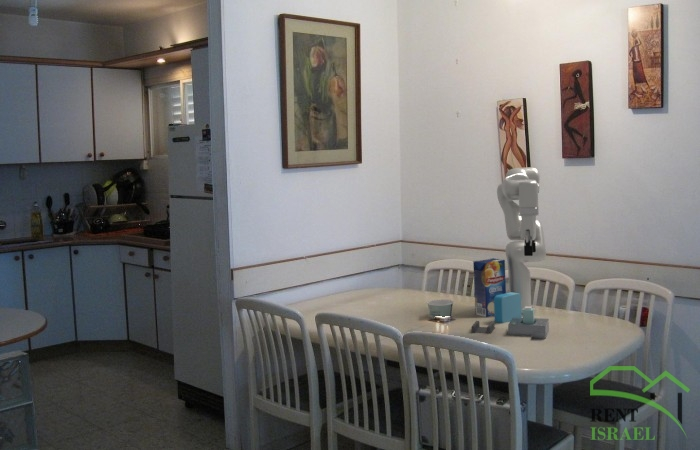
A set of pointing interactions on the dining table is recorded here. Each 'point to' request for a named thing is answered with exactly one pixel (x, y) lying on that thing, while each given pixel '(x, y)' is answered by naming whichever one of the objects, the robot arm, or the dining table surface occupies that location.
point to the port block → (529, 328)
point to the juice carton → (488, 284)
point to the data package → (507, 307)
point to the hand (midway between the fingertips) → (530, 253)
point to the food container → (440, 308)
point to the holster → (483, 328)
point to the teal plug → (528, 315)
